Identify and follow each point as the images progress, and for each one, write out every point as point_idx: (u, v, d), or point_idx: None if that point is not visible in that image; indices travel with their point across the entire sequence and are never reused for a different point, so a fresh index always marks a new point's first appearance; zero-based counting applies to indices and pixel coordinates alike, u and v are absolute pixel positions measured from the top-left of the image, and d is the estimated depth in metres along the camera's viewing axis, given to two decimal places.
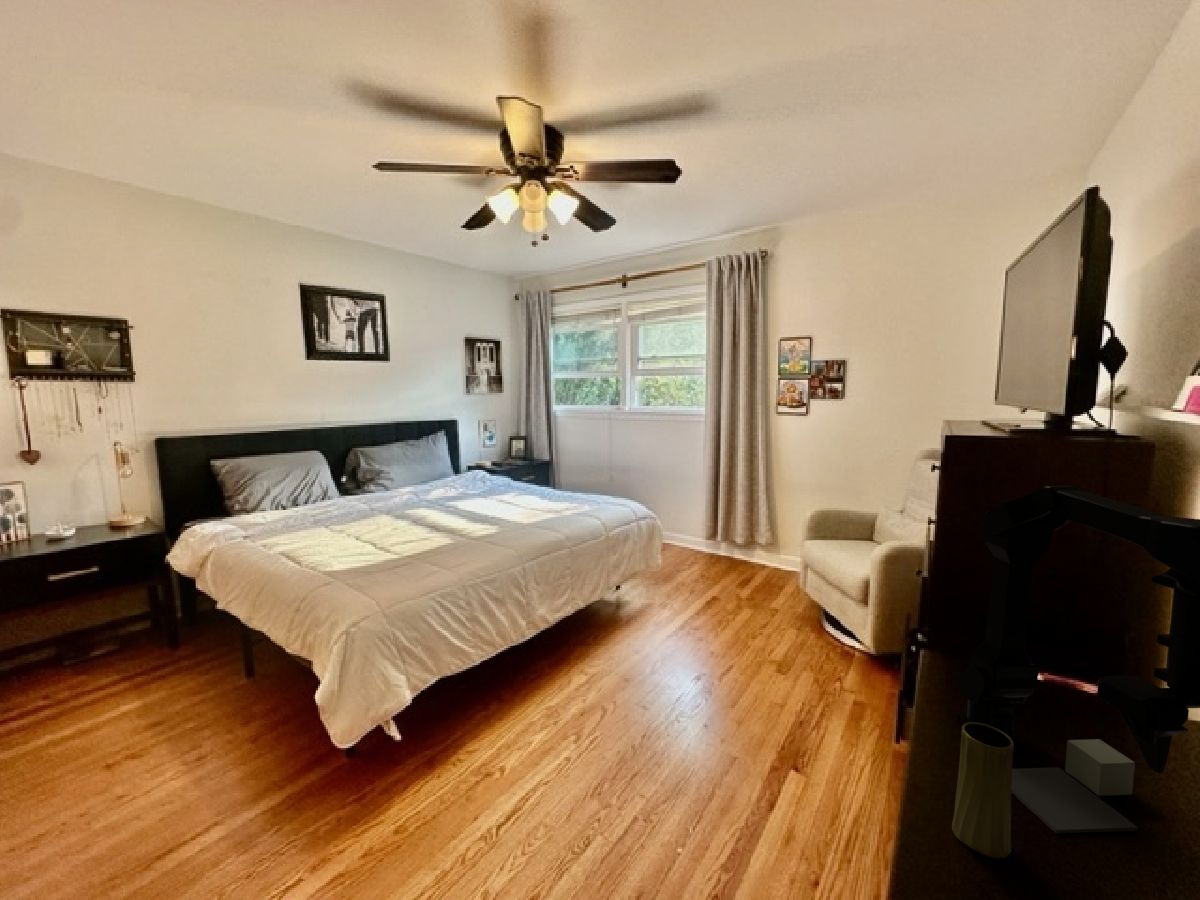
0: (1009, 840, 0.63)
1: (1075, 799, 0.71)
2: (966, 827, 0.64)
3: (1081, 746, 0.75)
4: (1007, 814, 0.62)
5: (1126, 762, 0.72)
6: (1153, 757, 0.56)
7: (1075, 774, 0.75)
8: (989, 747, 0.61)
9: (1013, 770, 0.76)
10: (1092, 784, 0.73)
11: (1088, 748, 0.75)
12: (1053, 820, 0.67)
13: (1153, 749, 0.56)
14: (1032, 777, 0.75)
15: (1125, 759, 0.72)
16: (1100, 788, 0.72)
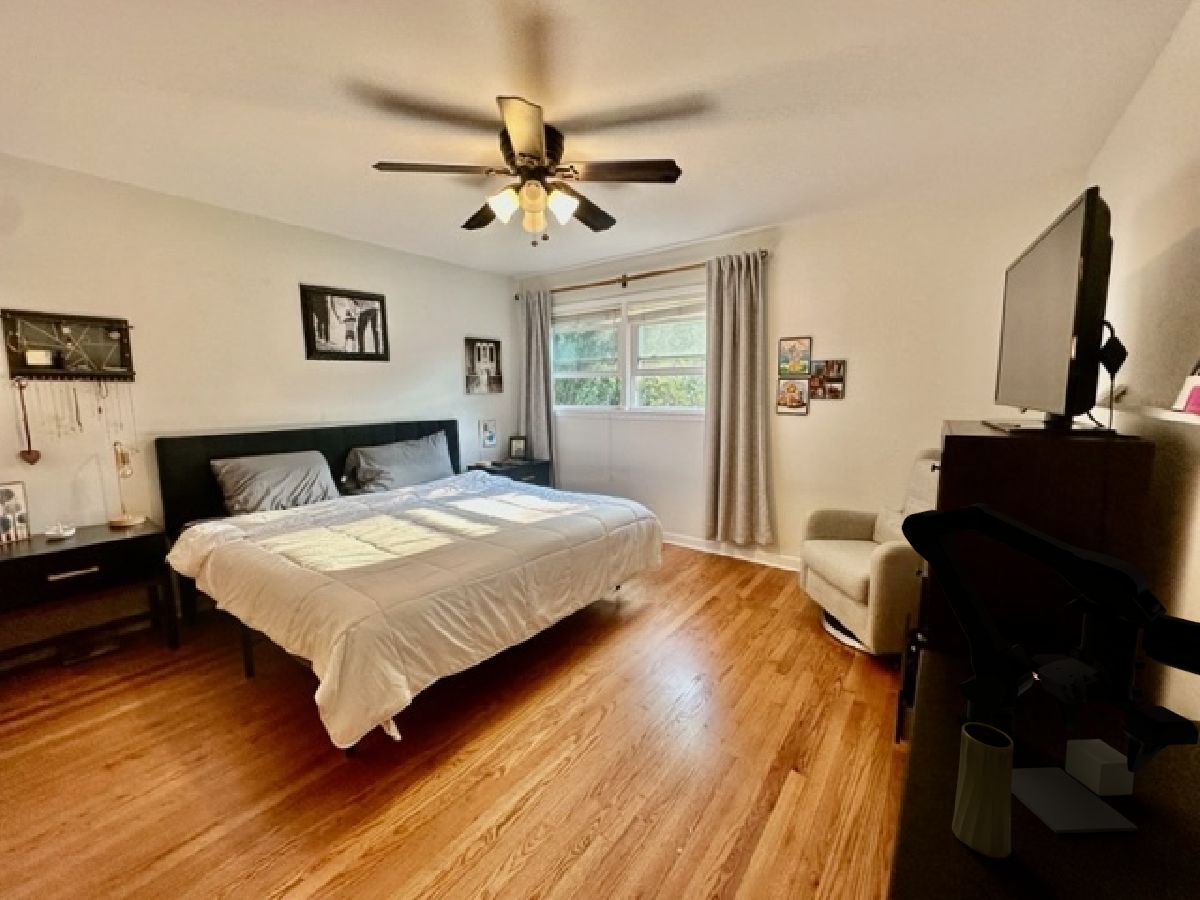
0: (1009, 840, 0.63)
1: (1075, 799, 0.71)
2: (966, 827, 0.64)
3: (1081, 746, 0.75)
4: (1007, 814, 0.62)
5: (1126, 762, 0.72)
6: None
7: (1075, 774, 0.75)
8: (989, 747, 0.61)
9: (1013, 770, 0.76)
10: (1092, 784, 0.73)
11: (1088, 748, 0.75)
12: (1053, 820, 0.67)
13: None
14: (1032, 777, 0.75)
15: (1125, 759, 0.72)
16: (1100, 788, 0.72)
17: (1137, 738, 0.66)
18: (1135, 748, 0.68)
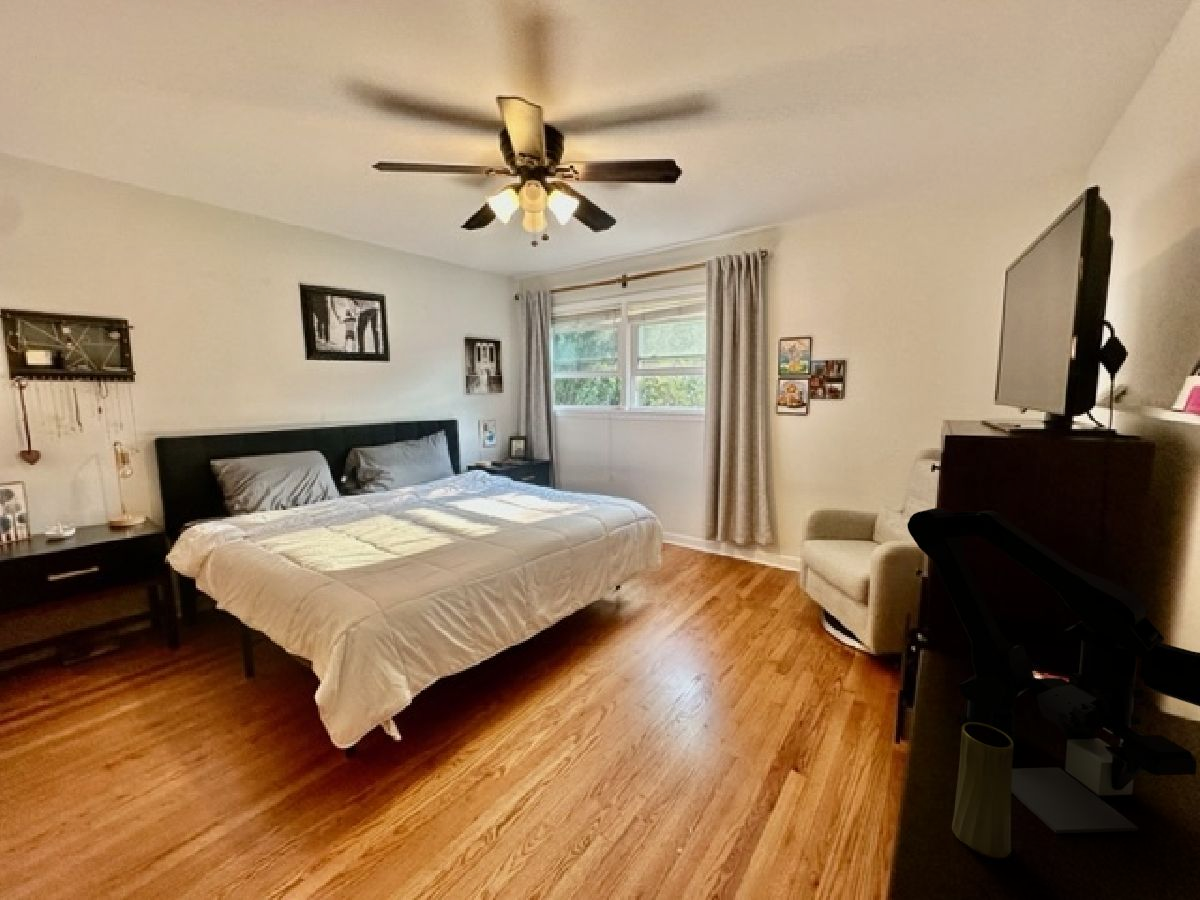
0: (1009, 840, 0.63)
1: (1075, 799, 0.71)
2: (966, 827, 0.64)
3: (1081, 745, 0.75)
4: (1007, 814, 0.62)
5: None
6: None
7: (1075, 773, 0.75)
8: (989, 747, 0.61)
9: (1013, 770, 0.76)
10: (1092, 783, 0.73)
11: (1088, 747, 0.75)
12: (1053, 820, 0.67)
13: None
14: (1032, 777, 0.75)
15: None
16: (1100, 787, 0.72)
17: (1120, 757, 0.69)
18: (1119, 767, 0.70)
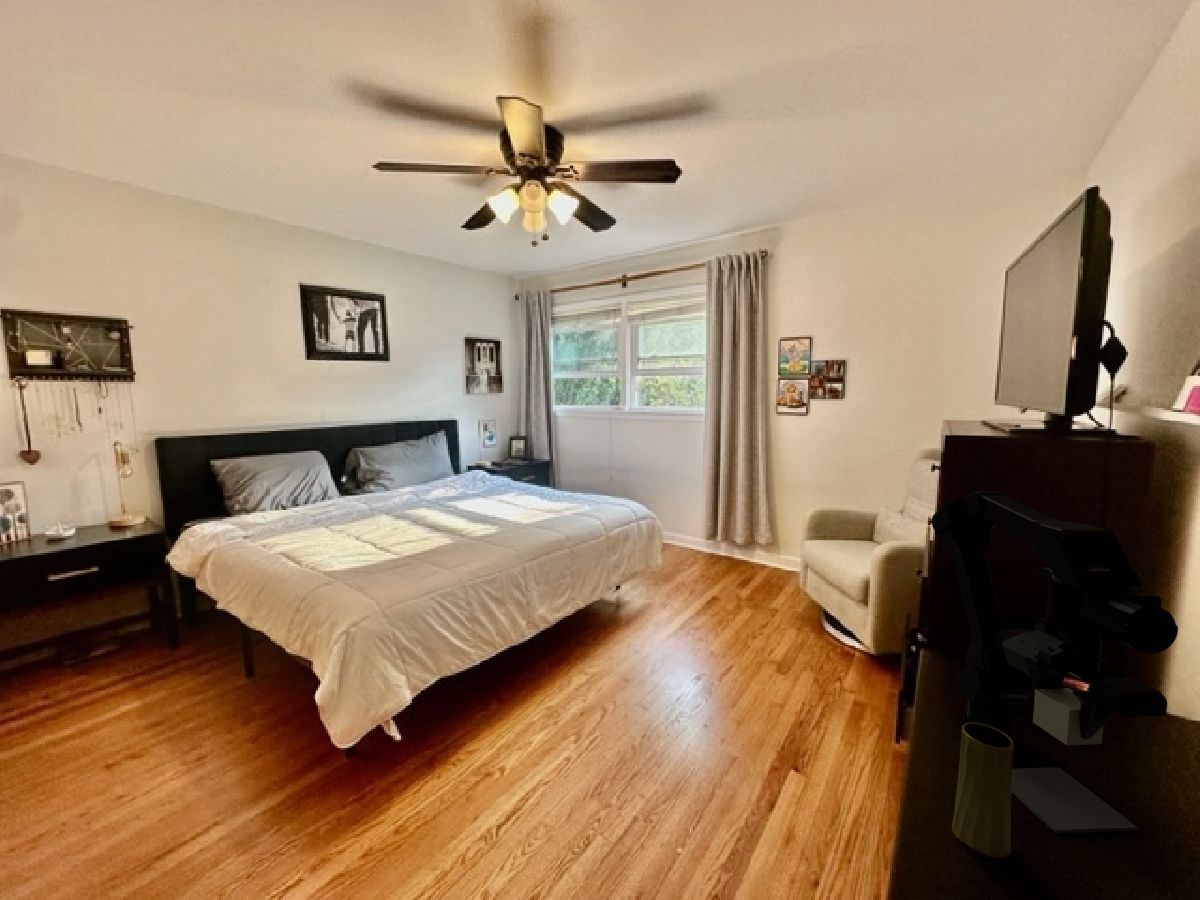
0: (1009, 840, 0.63)
1: (1075, 799, 0.71)
2: (966, 827, 0.64)
3: (1049, 694, 0.71)
4: (1007, 814, 0.62)
5: None
6: None
7: (1043, 724, 0.71)
8: (989, 747, 0.61)
9: (1013, 770, 0.76)
10: (1060, 733, 0.69)
11: (1056, 696, 0.70)
12: (1053, 820, 0.67)
13: None
14: (1032, 777, 0.75)
15: None
16: (1069, 736, 0.68)
17: (1088, 702, 0.64)
18: (1087, 713, 0.66)
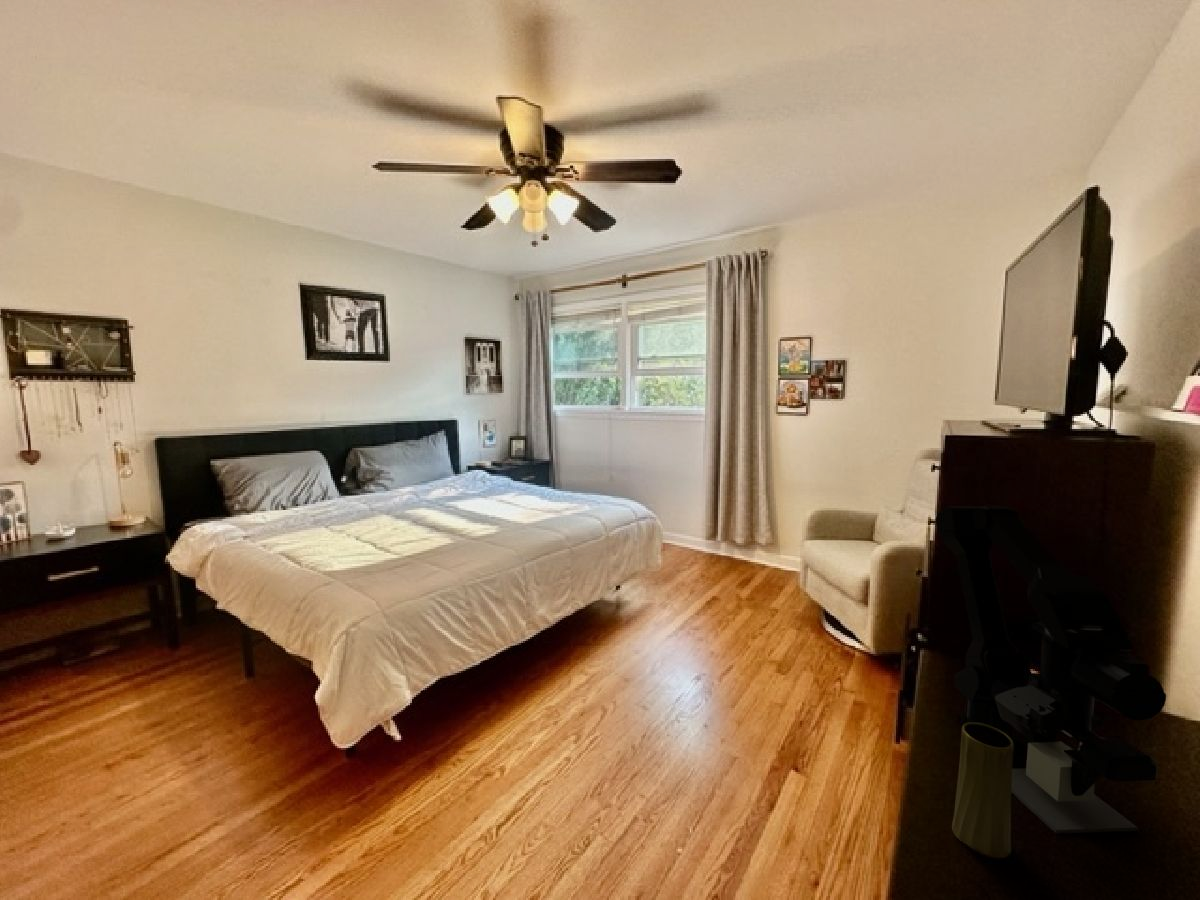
0: (1009, 840, 0.63)
1: None
2: (966, 827, 0.64)
3: (1041, 749, 0.72)
4: (1007, 814, 0.62)
5: None
6: None
7: (1035, 778, 0.72)
8: (989, 747, 0.61)
9: (1013, 770, 0.76)
10: (1052, 789, 0.69)
11: (1049, 751, 0.71)
12: (1053, 820, 0.67)
13: None
14: None
15: None
16: (1060, 793, 0.68)
17: (1078, 762, 0.65)
18: (1078, 771, 0.67)
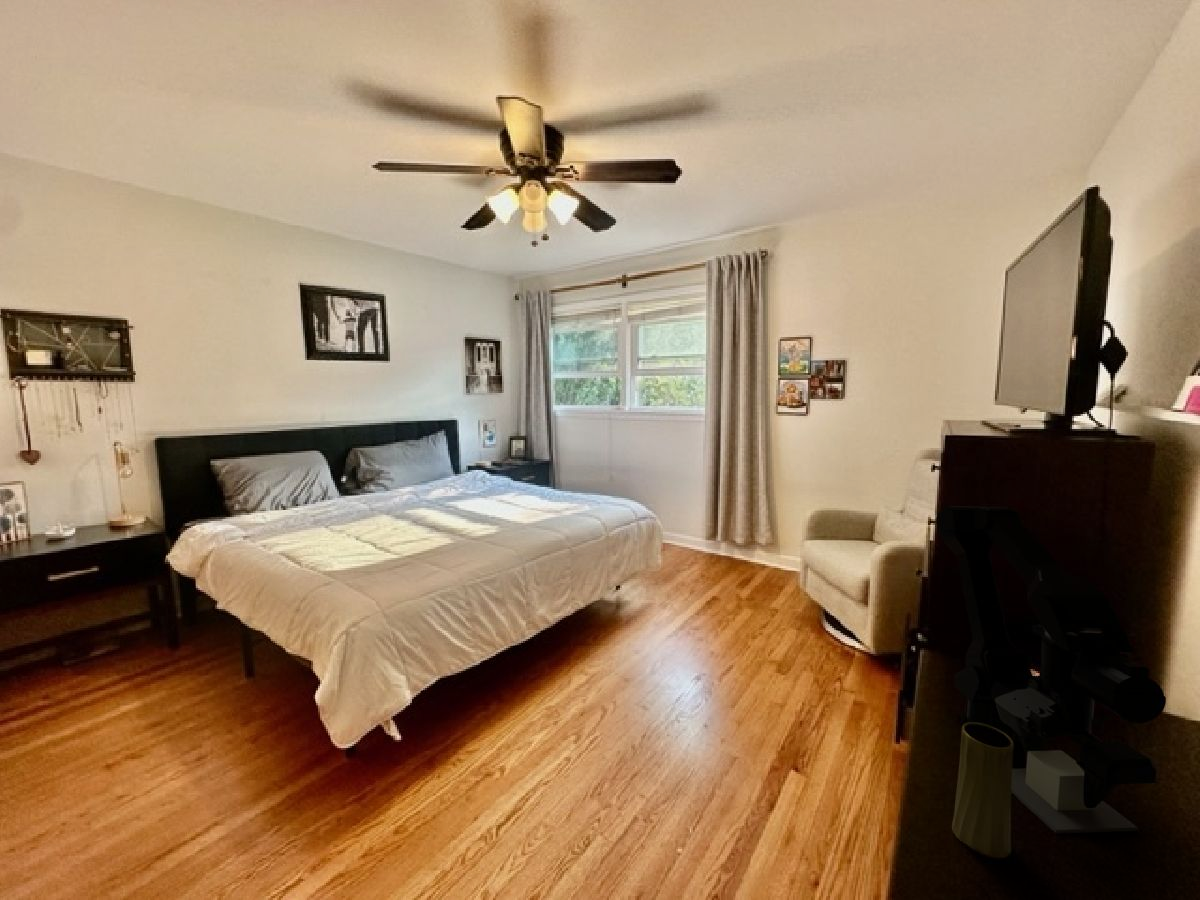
0: (1009, 840, 0.63)
1: None
2: (966, 827, 0.64)
3: (1041, 757, 0.72)
4: (1007, 814, 0.62)
5: None
6: None
7: (1035, 787, 0.72)
8: (989, 747, 0.61)
9: (1013, 770, 0.76)
10: (1051, 798, 0.69)
11: (1048, 760, 0.71)
12: (1053, 820, 0.67)
13: None
14: None
15: None
16: (1059, 802, 0.69)
17: (1091, 774, 0.64)
18: (1090, 784, 0.65)
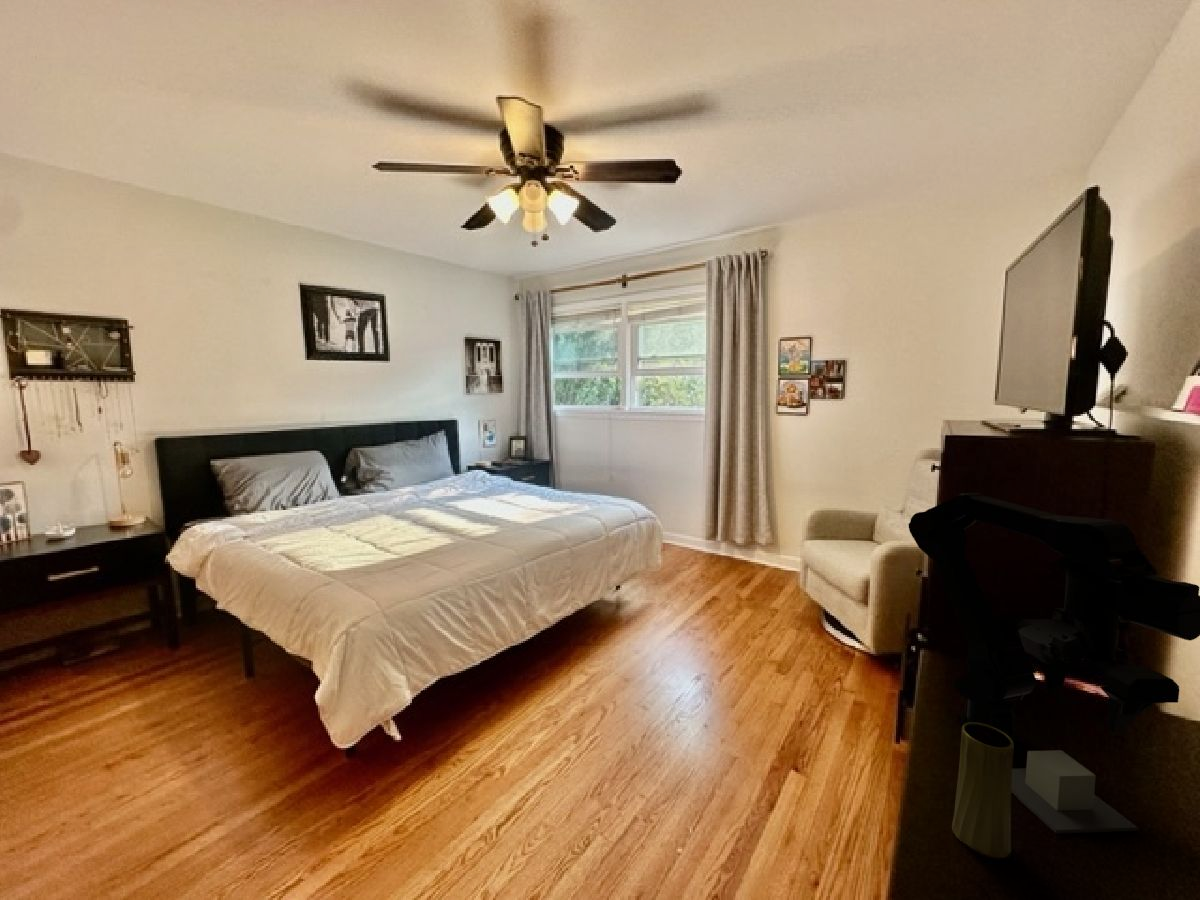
0: (1009, 840, 0.63)
1: None
2: (966, 827, 0.64)
3: (1041, 757, 0.72)
4: (1007, 814, 0.62)
5: (1086, 775, 0.68)
6: None
7: (1035, 787, 0.72)
8: (989, 747, 0.61)
9: (1013, 770, 0.76)
10: (1051, 798, 0.69)
11: (1048, 760, 0.71)
12: (1053, 820, 0.67)
13: None
14: None
15: (1086, 772, 0.69)
16: (1059, 802, 0.69)
17: (1115, 696, 0.65)
18: (1115, 708, 0.67)
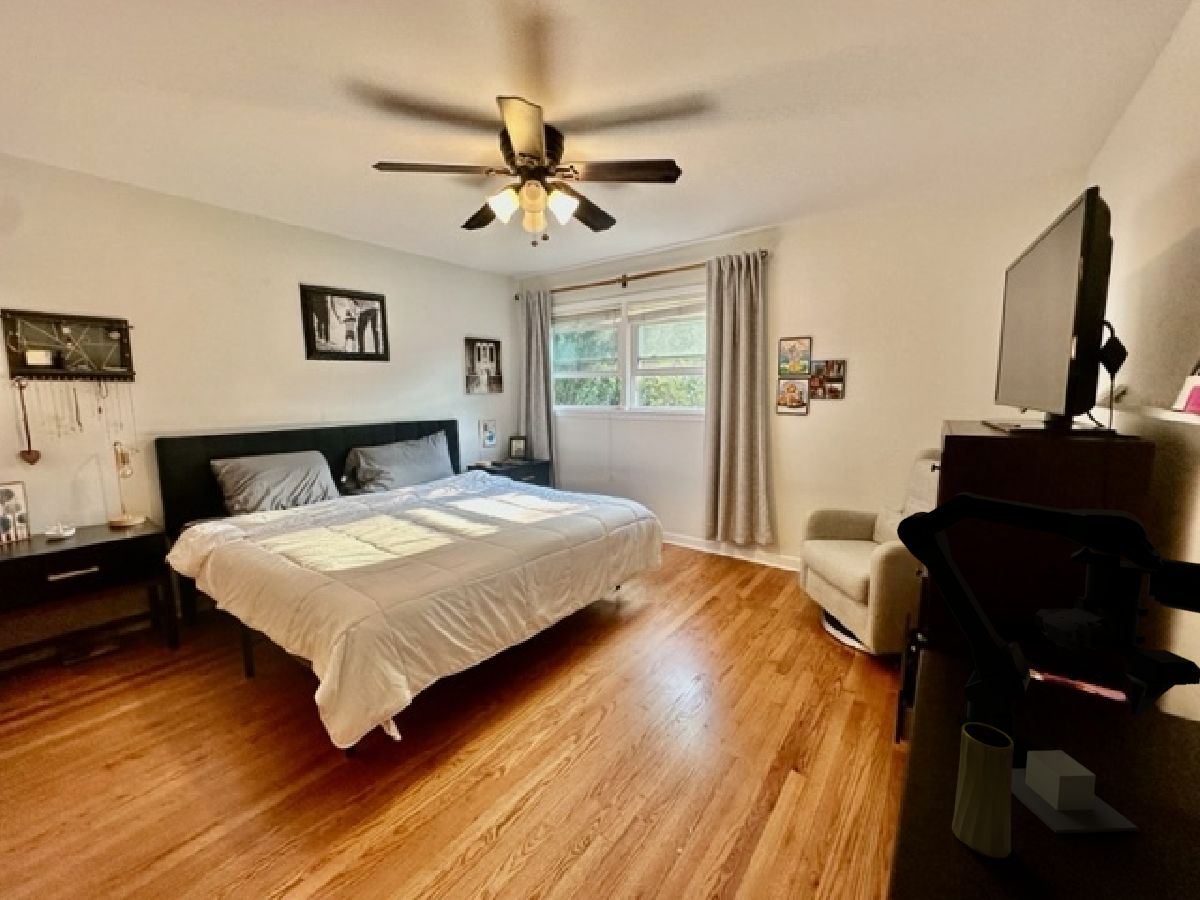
0: (1009, 840, 0.63)
1: None
2: (966, 827, 0.64)
3: (1041, 757, 0.72)
4: (1007, 814, 0.62)
5: (1086, 775, 0.68)
6: None
7: (1035, 787, 0.72)
8: (989, 747, 0.61)
9: (1013, 770, 0.76)
10: (1051, 798, 0.69)
11: (1048, 760, 0.71)
12: (1053, 820, 0.67)
13: None
14: None
15: (1086, 772, 0.69)
16: (1059, 802, 0.69)
17: (1140, 680, 0.68)
18: (1138, 691, 0.69)
